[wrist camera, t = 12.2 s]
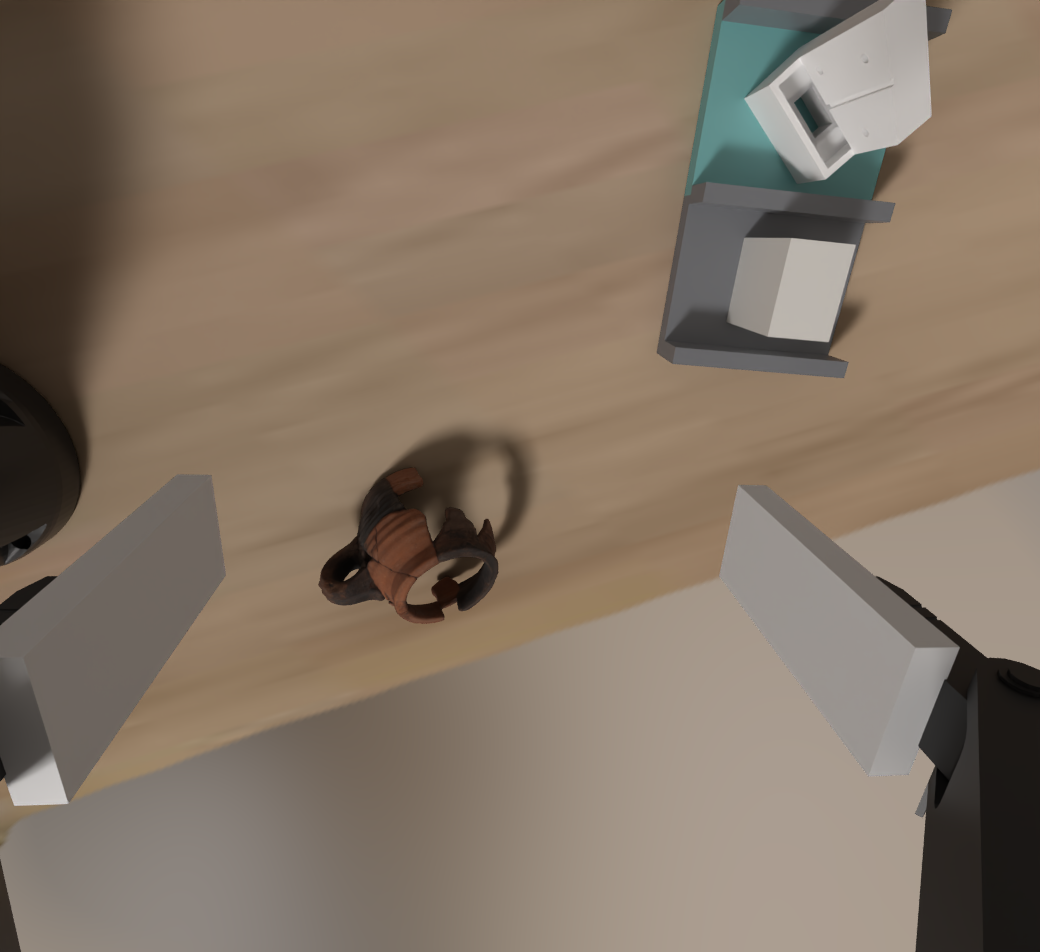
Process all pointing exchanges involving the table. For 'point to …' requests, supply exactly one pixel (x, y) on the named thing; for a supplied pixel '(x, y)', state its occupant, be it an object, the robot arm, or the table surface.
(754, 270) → the white rectangular block
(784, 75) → the white wedge bracket
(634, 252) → the table surface
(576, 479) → the table surface
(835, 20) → the two-compartment cubby shelf
